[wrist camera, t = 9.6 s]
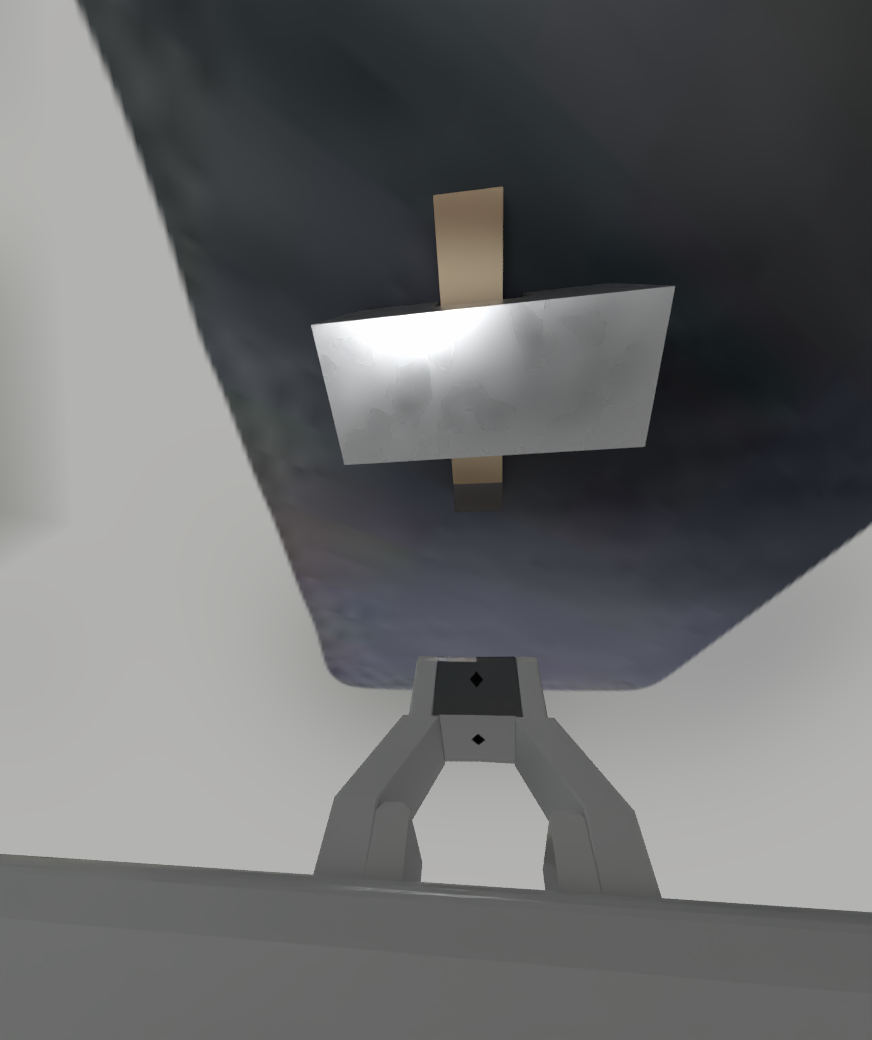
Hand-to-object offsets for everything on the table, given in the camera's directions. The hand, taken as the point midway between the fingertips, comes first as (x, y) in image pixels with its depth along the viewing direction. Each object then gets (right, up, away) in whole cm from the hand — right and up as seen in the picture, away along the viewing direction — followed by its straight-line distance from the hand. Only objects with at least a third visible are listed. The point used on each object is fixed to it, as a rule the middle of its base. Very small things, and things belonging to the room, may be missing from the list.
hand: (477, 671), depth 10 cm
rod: (+1, +13, +13) cm, 19 cm away
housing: (+2, +14, +13) cm, 19 cm away
